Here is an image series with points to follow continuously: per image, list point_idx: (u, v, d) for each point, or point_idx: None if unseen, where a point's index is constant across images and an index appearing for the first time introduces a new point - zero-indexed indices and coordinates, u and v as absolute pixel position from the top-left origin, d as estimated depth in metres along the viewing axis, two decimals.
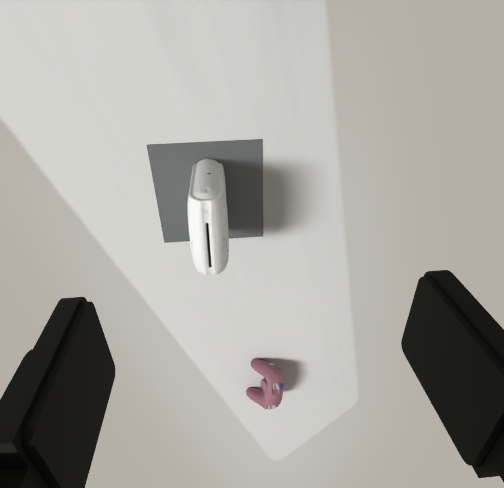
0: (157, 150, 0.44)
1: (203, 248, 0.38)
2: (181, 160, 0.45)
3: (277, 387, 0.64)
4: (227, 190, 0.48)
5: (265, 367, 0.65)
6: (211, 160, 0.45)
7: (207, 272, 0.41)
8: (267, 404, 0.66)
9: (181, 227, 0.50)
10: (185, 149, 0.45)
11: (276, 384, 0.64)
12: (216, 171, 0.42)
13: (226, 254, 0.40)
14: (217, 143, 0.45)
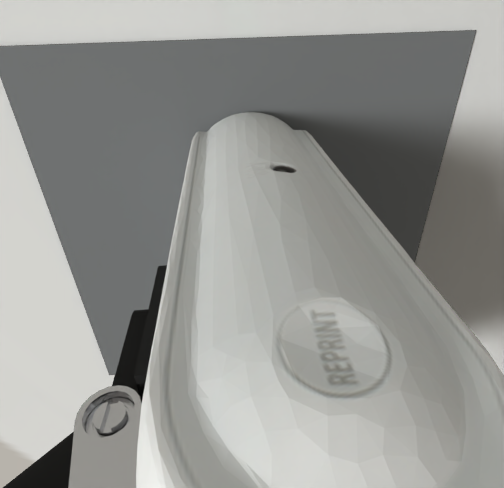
0: (41, 73, 0.10)
1: None
2: (145, 119, 0.11)
3: None
4: None
5: None
6: (267, 117, 0.11)
7: None
8: None
9: None
10: (160, 71, 0.11)
11: None
12: (310, 161, 0.08)
13: None
14: (294, 45, 0.11)
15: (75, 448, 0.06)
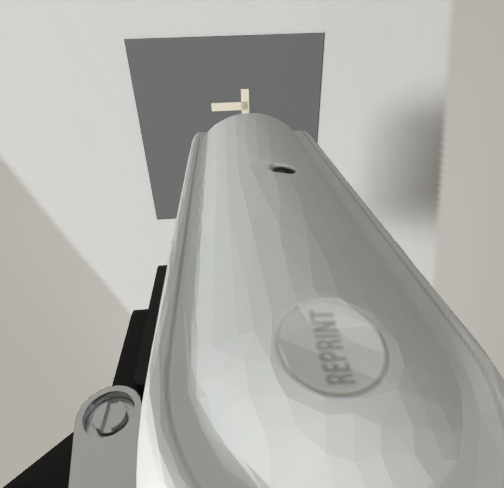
0: (143, 50, 0.25)
1: None
2: (184, 71, 0.26)
3: None
4: None
5: None
6: (267, 118, 0.11)
7: None
8: None
9: None
10: (191, 49, 0.26)
11: None
12: (309, 161, 0.08)
13: None
14: (247, 38, 0.26)
15: (75, 448, 0.06)
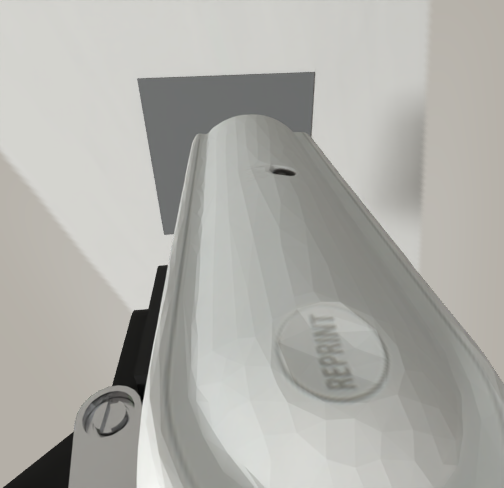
0: (153, 88, 0.29)
1: None
2: (190, 105, 0.30)
3: None
4: None
5: None
6: (267, 119, 0.11)
7: None
8: None
9: None
10: (197, 87, 0.29)
11: None
12: (309, 163, 0.08)
13: None
14: (246, 77, 0.29)
15: (75, 448, 0.06)
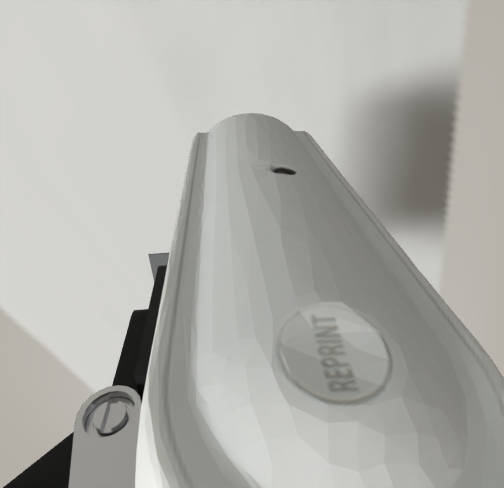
0: (165, 261, 0.28)
1: None
2: None
3: None
4: None
5: None
6: (267, 118, 0.11)
7: None
8: None
9: None
10: None
11: None
12: (310, 162, 0.08)
13: None
14: None
15: (75, 448, 0.06)
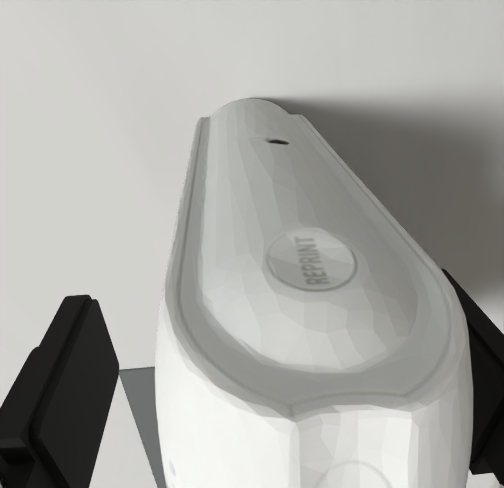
0: (143, 378, 0.19)
1: None
2: None
3: None
4: None
5: None
6: (265, 102, 0.12)
7: None
8: None
9: None
10: None
11: None
12: (303, 137, 0.09)
13: None
14: None
15: None
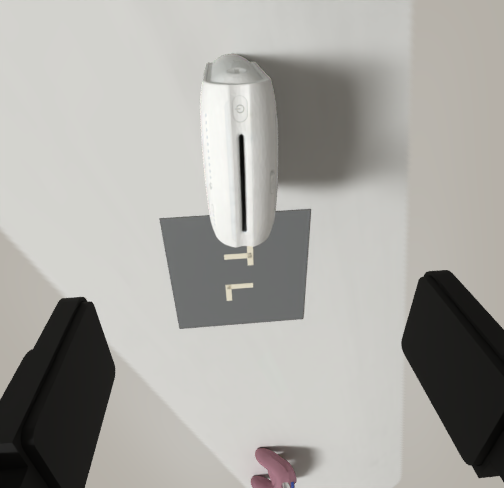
0: (173, 225, 0.34)
1: (233, 191, 0.19)
2: (204, 236, 0.35)
3: (288, 487, 0.53)
4: (262, 269, 0.37)
5: (272, 461, 0.53)
6: (237, 55, 0.26)
7: (238, 242, 0.22)
8: None
9: (201, 312, 0.40)
10: (210, 223, 0.34)
11: (287, 484, 0.52)
12: (249, 63, 0.24)
13: (274, 207, 0.21)
14: None
15: None
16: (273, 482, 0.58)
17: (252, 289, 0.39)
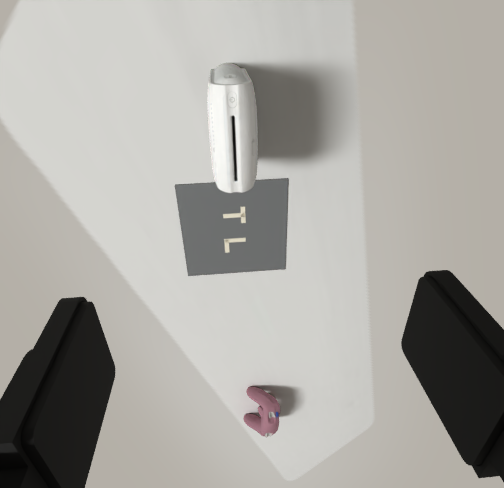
0: (185, 189, 0.45)
1: (228, 152, 0.30)
2: (208, 199, 0.46)
3: (273, 415, 0.64)
4: (252, 226, 0.48)
5: (261, 396, 0.65)
6: (232, 64, 0.37)
7: (232, 189, 0.33)
8: (264, 432, 0.66)
9: (205, 261, 0.51)
10: (212, 188, 0.45)
11: (272, 413, 0.64)
12: (239, 70, 0.35)
13: (255, 165, 0.33)
14: None
15: None
16: (262, 417, 0.69)
17: (245, 243, 0.50)
